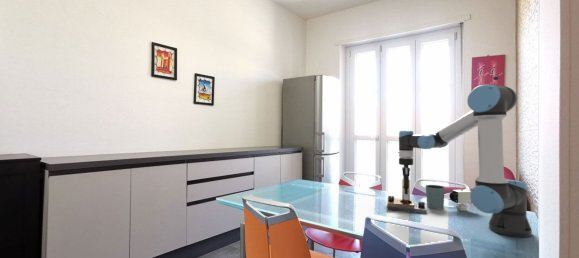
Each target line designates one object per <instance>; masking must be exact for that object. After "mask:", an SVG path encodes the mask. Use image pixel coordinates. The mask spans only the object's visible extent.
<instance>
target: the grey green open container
mask: <svg viewBox="0 0 579 258" xmlns="http://www.w3.org/2000/svg"><path fill="white" fill-rule="evenodd" d="M445 189H446V188H445V186H444V185H443V186H442V185H439V184H428V185H427V184H426V185H425V195H426V196H425V197H426V206H427V208H430V209H434V210H443V209H444V206H445V205H444V204H445V191H446V190H445Z"/></svg>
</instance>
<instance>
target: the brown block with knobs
mask: <svg viewBox="0 0 579 258" xmlns="http://www.w3.org/2000/svg"><path fill="white" fill-rule="evenodd" d="M386 204H387V205H386V206H387V209H386V210H387V211H393V212H403V213H414V214H415V213H416V214H425V215H427V214H428V213H427V212H428V210H427V208H426V205H425V202H424V201H418V203H415V202H414V199H410V204H409V203H402V198H396V197H395V196H394V195H388V197H387V202H386Z"/></svg>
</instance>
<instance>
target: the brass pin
mask: <svg viewBox="0 0 579 258" xmlns="http://www.w3.org/2000/svg"><path fill="white" fill-rule="evenodd" d="M401 182H402V183H401V184H402V185H401V188H402V189H401V196H402V197H401V199H402V203H409V204H410V200H411V199H410V198H411V195H410V194H411V180H410V179H409V200H404V188H403V187H404V179H403V178H402V180H401Z"/></svg>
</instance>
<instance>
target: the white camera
mask: <svg viewBox="0 0 579 258" xmlns="http://www.w3.org/2000/svg"><path fill="white" fill-rule="evenodd" d="M470 193H471V190H468V189H463V188H460V189H452V190H451V192H449V199H450V201H452V202H453V203H456V205H455V207H456V210H458V211H460V212H467V211H468V205H467V204H473V203H472V201H471V198H470Z"/></svg>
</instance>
